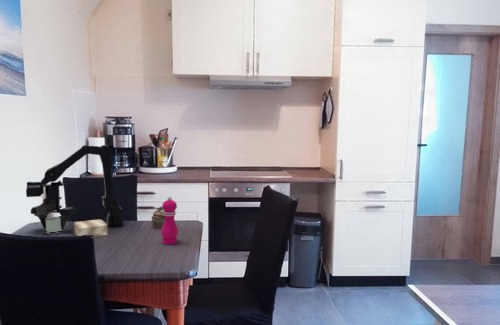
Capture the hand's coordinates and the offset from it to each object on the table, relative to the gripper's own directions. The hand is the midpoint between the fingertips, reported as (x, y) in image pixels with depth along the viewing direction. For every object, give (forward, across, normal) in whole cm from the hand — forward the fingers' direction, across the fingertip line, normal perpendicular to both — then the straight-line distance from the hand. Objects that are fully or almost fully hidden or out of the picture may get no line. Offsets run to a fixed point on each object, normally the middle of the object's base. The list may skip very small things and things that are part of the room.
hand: (53, 228), depth 174 cm
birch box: (+1, +18, 0) cm, 18 cm away
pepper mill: (+1, +58, -5) cm, 58 cm away
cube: (+1, 0, 0) cm, 1 cm away
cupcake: (+1, +46, +17) cm, 49 cm away
